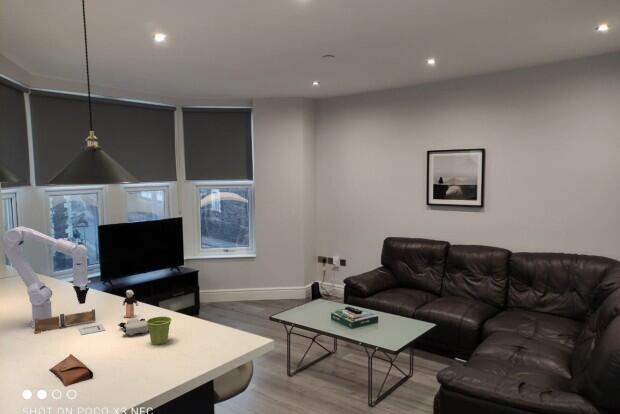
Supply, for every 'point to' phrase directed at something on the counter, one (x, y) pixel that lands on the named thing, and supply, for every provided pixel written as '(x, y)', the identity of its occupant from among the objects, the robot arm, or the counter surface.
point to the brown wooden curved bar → (77, 318)
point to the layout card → (91, 329)
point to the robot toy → (134, 326)
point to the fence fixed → (47, 324)
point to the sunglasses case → (71, 371)
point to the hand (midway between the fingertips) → (81, 302)
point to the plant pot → (159, 329)
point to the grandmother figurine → (129, 304)
